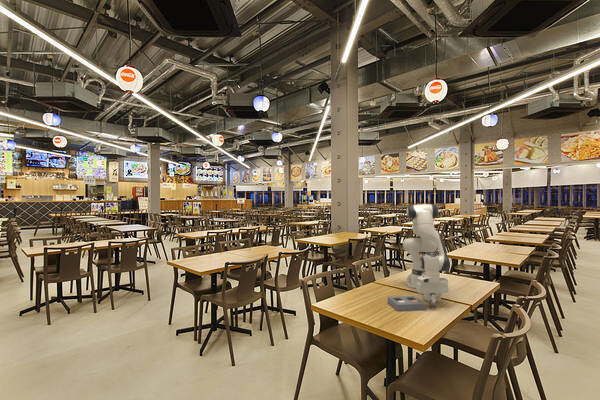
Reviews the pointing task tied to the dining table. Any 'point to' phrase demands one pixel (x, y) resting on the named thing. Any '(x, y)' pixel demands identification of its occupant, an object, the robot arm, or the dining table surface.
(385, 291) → the dining table surface
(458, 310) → the dining table surface
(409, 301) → the socket board
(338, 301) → the dining table surface
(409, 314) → the dining table surface
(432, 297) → the plug
